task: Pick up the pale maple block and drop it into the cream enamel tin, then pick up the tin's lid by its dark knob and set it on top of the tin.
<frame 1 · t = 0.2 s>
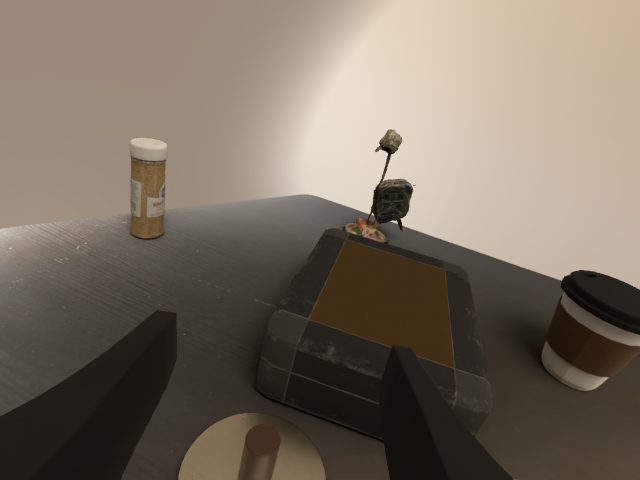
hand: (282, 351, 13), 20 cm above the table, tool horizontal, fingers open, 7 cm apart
sprinkles bottle: (147, 233, 57), on the table
cash box: (366, 344, 45), on the table
coffee cup: (566, 372, 49), on the table
plant with pod: (370, 238, 72), on the table
lid: (254, 479, 28), point 1 cm above the table
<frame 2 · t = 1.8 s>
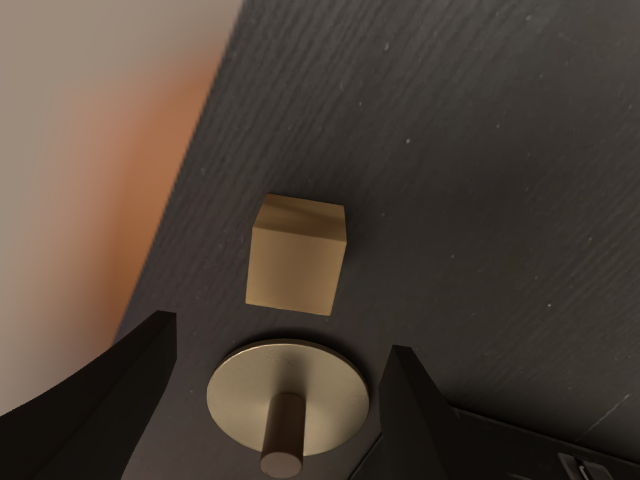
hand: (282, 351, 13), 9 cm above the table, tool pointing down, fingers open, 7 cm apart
block: (299, 233, 21), on the table
lid: (288, 399, 26), point 1 cm above the table
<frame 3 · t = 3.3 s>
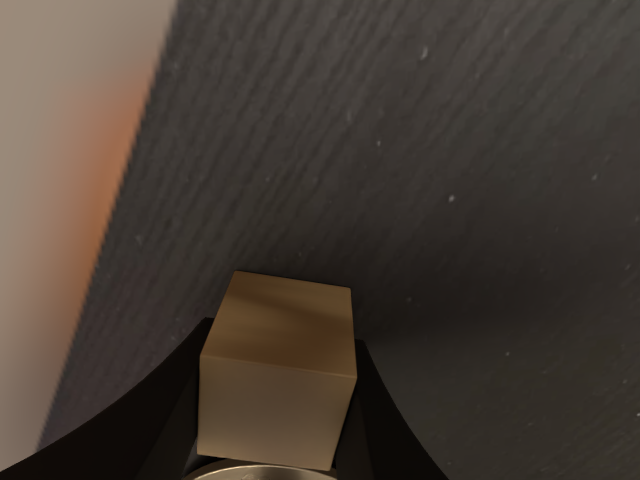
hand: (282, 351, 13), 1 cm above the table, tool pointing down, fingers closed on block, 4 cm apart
block: (285, 323, 14), on the table, touching gripper
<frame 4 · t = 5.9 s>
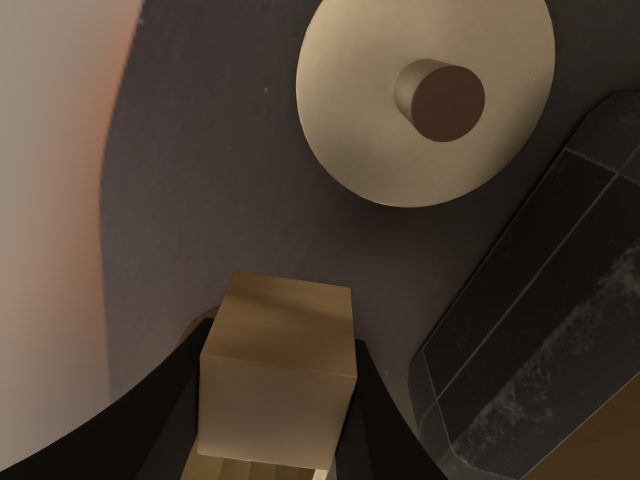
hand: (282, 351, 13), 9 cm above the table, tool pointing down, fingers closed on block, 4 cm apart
tin: (254, 363, 25), on the table
block: (286, 323, 14), point 7 cm above the table, touching gripper
lid: (419, 89, 17), point 1 cm above the table
when the fingers open (5 cm above the table, at t = 8.4 s): block drops 3 cm, resting on tin.
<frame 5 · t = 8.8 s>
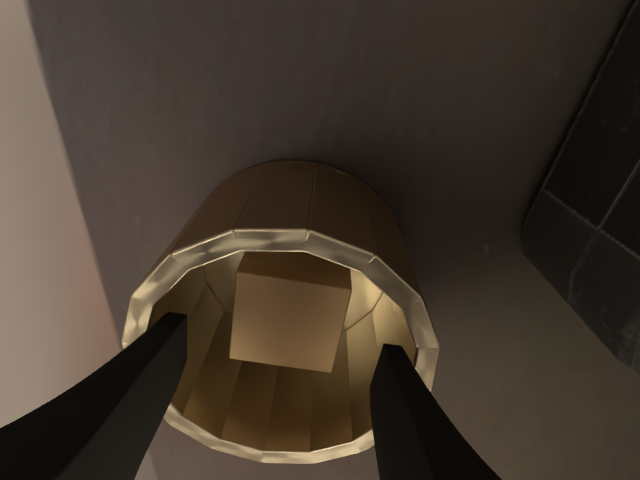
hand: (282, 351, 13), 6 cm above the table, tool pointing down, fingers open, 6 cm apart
tin: (296, 263, 18), on the table
block: (296, 268, 18), resting on tin
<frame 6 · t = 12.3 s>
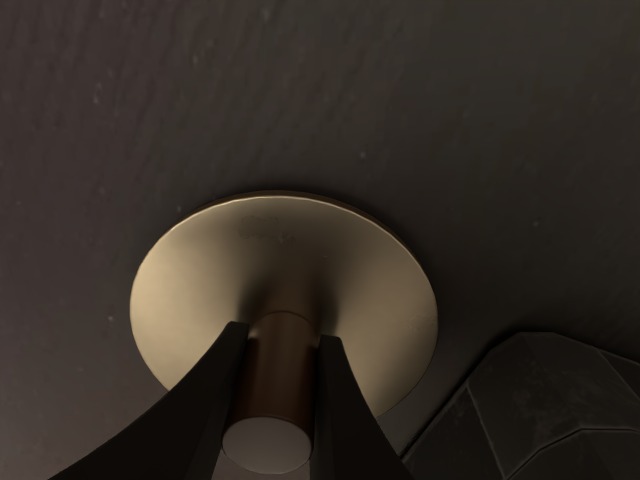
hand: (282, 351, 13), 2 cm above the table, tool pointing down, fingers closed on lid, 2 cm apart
lid: (285, 329, 14), point 1 cm above the table, touching gripper
when the fingers open (7 cm above the table, at t = 16.4 s): lid stays where it is, resting on tin.
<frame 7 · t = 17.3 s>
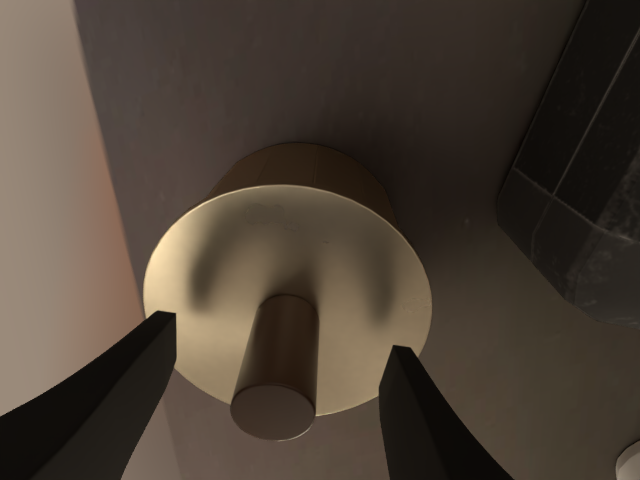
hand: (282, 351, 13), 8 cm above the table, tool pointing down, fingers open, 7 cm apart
tin: (300, 235, 20), on the table
lid: (288, 312, 15), point 6 cm above the table, touching tin
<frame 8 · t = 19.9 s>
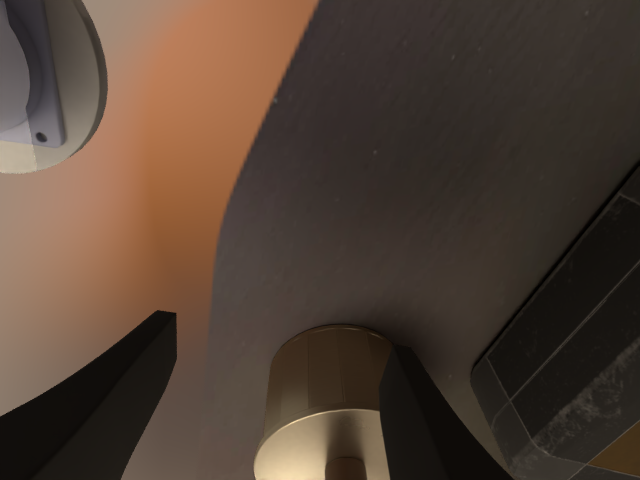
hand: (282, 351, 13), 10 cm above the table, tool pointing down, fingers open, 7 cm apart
tin: (336, 374, 29), on the table
lid: (344, 460, 23), point 6 cm above the table, touching tin
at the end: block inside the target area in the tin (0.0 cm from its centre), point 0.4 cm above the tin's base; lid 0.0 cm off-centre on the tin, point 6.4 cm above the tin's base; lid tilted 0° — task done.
